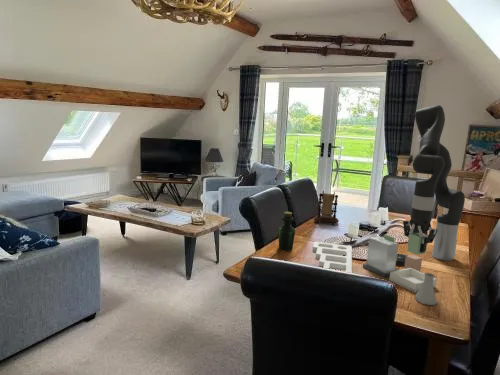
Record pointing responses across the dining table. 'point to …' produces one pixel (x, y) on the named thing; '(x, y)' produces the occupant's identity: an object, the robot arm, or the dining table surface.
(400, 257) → the disk drive
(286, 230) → the potion bottle
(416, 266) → the terracotta block
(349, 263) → the holder
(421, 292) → the flask
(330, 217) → the scroll
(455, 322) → the dining table surface
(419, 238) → the sage block
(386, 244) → the block
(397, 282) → the tray
